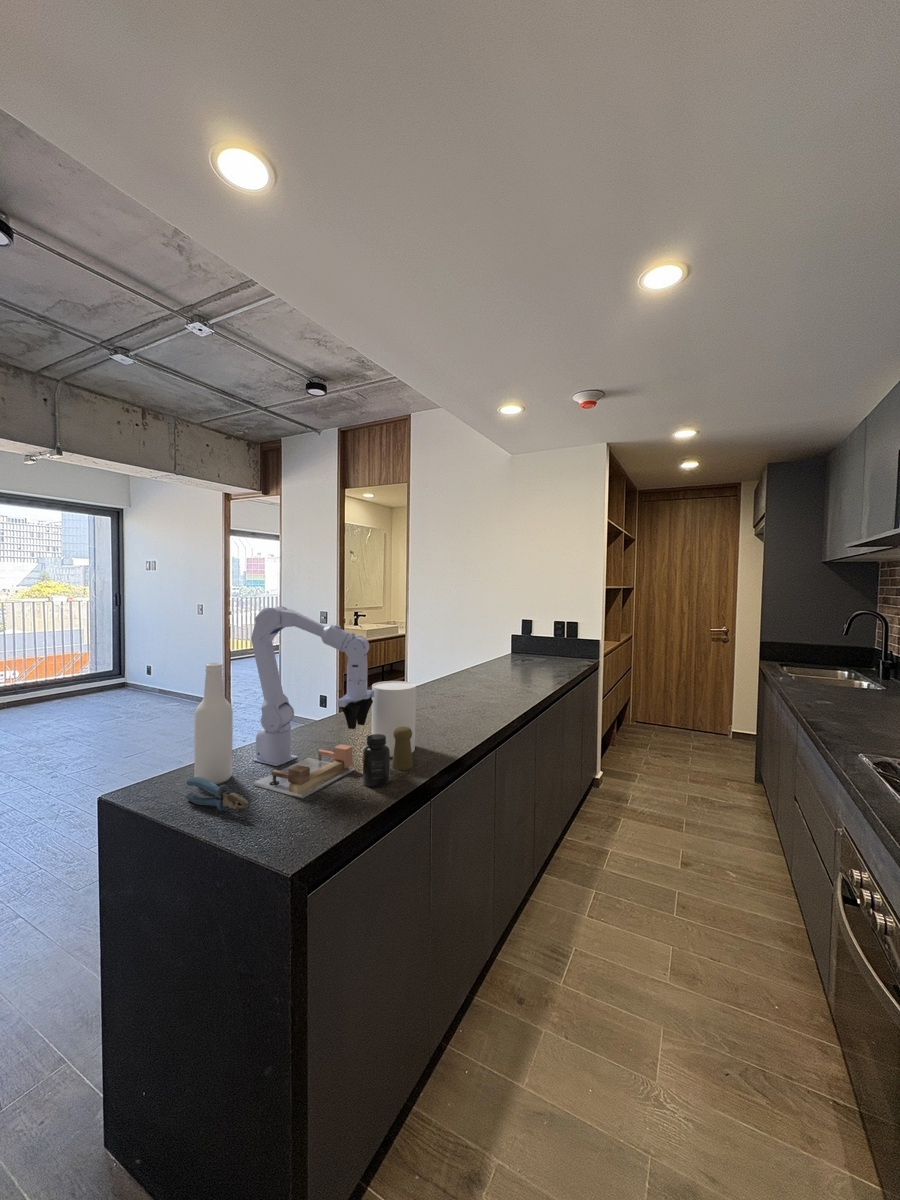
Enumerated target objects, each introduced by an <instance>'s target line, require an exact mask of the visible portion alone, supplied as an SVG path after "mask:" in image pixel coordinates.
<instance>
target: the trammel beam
mask: <svg viewBox="0 0 900 1200" xmlns="http://www.w3.org/2000/svg"><path fill="white" fill-rule="evenodd" d="M343 769H345V768H344V761H341V760H336V761H334V762H331V763H330V764H328V765H326V766H324V767H322V768H320V769H318V770H316V771H314V772H312V773H310V768H308V767H304V766H299V765H296V766H294V767H292V768H290V769H288V773H287V772H283V771H280V770H278V769H274V770H272V771H271V773H270V775H273V784H275V783H276V776H277V777H281V778H285V779H288V782H290V783H289V792H292V793H296V794H297V793H299V792H301V791H303V790H305V789H307V788H309V787H310V786H312V785H314V784H316V783H318V782H320V781H322V780H324V779H326V778H328V777H329V776H331V775H333V774H335V773H337V772H339V771H341V770H343Z"/></svg>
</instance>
